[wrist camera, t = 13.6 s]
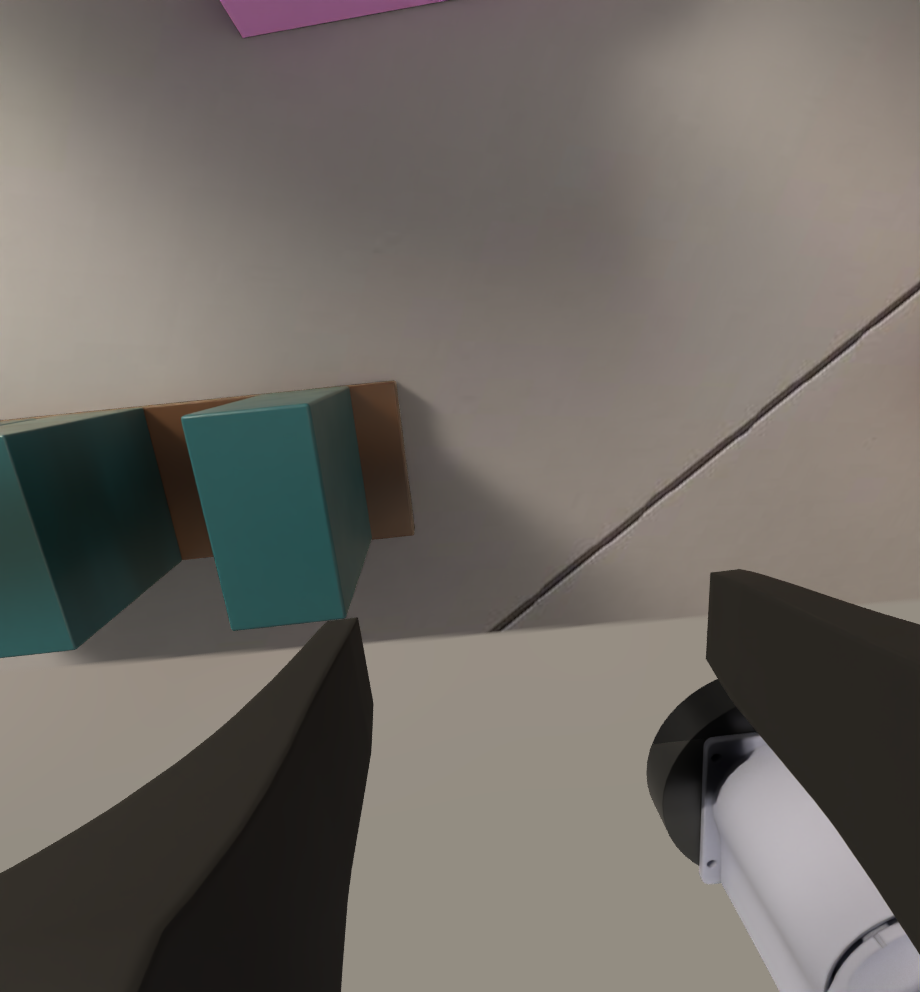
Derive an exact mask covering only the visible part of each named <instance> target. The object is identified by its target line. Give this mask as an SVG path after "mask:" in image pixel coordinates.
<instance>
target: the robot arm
mask: <svg viewBox="0 0 920 992" xmlns="http://www.w3.org/2000/svg"><path fill="white" fill-rule="evenodd" d="M706 659H707V661H708V663H709V664H710V666H711V668H712V670H713V671H714V673H715V675H716V676H717V678H718V680H719V681H720V683H721V685H722V686H723V688H724V689H725V691H726V692H727V694H728V695H729V697H730V698H731V700H732V701H733V703H734V704H735V705H736V707H737V708H738V709H739V710H740V712H741V713H742V714H743V715H744V717H745V718H746V719H747V720H748V721H749V723H750V724H751V725H752V726H753V728H754V729H755V730H756V731H757V732H749V733H740V734H732V735H723V736H715V737H710V738H708V739H707V740H706V741H705V743H704V747H703V775H702V803H701V832H700V860H699V875H700V877H701V879H702V881H703V882H704V883H706V884H717V883H722V885H723V887H724V888H725V891H726V893H727V894H728V896H729V898H730V900H731V902H732V904H733V906H734V907H735V909H736V911H737V913H738V915H739V917H740V919H741V921H742V922H743V924H744V926H745V928H746V930H747V932H748V934H749V935H750V937H751V939H752V941H753V943H754V945H755V946H756V948H757V950H758V952H759V954H760V956H761V958H762V960H763V962H764V963H765V965H766V967H767V969H768V971H769V973H770V975H771V976H772V978H773V980H774V982H775V983H776V986H777V988H778V989H779V991H780V992H920V625H919V624H916V623H913V622H909V621H906V620H902V619H899V618H896V617H892V616H889V615H885V614H882V613H878V612H875V611H872V610H869V609H866V608H863V607H860V606H857V605H854V604H851V603H848V602H845V601H842V600H839V599H836V598H833V597H830V596H827V595H824V594H821V593H818V592H815V591H812V590H809V589H806V588H803V587H800V586H797V585H794V584H791V583H788V582H785V581H782V580H778V579H775V578H772V577H769V576H765V575H762V574H758V573H755V572H751V571H746V570H741V569H737V570H729V571H721V572H713V573H710V592H709V611H708V631H707V651H706ZM372 726H373V699H372V693H371V688H370V682H369V676H368V671H367V666H366V660H365V654H364V648H363V643H362V637H361V632H360V626H359V620H358V618H350V619H342V620H334V621H327V622H326V623H325V624H324V625H323V626H322V627H321V628H320V629H319V630H318V631H317V633H316V634H315V635H314V636H313V637H312V638H311V639H310V640H309V641H308V642H307V643H306V645H305V646H304V647H303V648H302V649H301V650H300V651H299V652H298V653H297V654H296V656H294V658H293V659H292V660H291V661H290V662H289V663H288V664H287V665H286V666H285V667H284V668H283V669H282V670H281V671H280V672H279V673H278V675H276V677H274V678H273V680H272V681H270V683H268V684H267V685H266V686H265V687H264V688H263V689H262V690H261V691H260V692H259V693H258V694H257V695H256V696H255V697H254V698H253V699H252V700H251V701H249V702H248V703H247V704H246V705H245V706H244V707H243V708H242V709H241V710H240V711H239V712H238V713H237V714H236V715H235V716H234V717H232V718H231V719H230V720H229V721H228V722H227V723H226V724H224V725H223V726H222V727H221V728H220V729H219V730H217V731H216V732H215V733H214V734H213V735H211V736H210V737H209V738H208V739H206V740H205V741H204V742H203V743H201V744H200V745H199V746H198V747H196V748H195V749H194V750H192V751H191V752H190V753H189V754H188V755H186V756H185V757H184V758H182V759H181V760H180V761H178V762H177V763H176V764H174V765H173V766H171V767H170V768H169V769H167V770H166V771H164V772H163V773H162V774H160V775H158V776H157V777H156V778H154V779H153V780H151V781H150V782H149V783H147V784H146V785H144V786H143V787H141V788H140V789H138V790H137V791H136V792H134V793H133V794H131V795H130V796H128V797H127V798H125V799H124V800H123V801H121V802H120V803H118V804H117V805H115V806H114V807H112V808H110V809H109V810H108V811H106V812H104V813H103V814H101V815H99V816H98V817H96V818H95V819H93V820H91V821H90V822H88V823H87V824H85V825H83V826H82V827H80V828H79V829H77V830H75V831H74V832H72V833H70V834H68V835H67V836H65V837H63V838H62V839H60V840H59V841H57V842H55V843H53V844H51V845H50V846H48V847H46V848H45V849H43V850H41V851H40V852H38V853H37V854H34V855H33V856H31V857H29V858H28V859H26V860H24V861H22V862H20V863H18V864H17V865H15V866H13V867H11V868H9V869H8V870H6V871H4V872H2V873H0V992H341V981H342V966H343V953H344V941H345V928H346V915H347V902H348V893H349V885H350V878H351V869H352V864H353V858H354V852H355V846H356V840H357V834H358V828H359V822H360V817H361V810H362V805H363V799H364V792H365V786H366V781H367V774H368V769H369V762H370V756H371V746H372ZM714 754H716V755H715V756H713V755H714Z"/></svg>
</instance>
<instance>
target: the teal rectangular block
mask: <svg viewBox="0 0 920 992" xmlns="http://www.w3.org/2000/svg"><path fill="white" fill-rule="evenodd" d="M181 422H182V426H183V430H184V435H185V439H186V443H187V447H188V451H189V455H190V460H191V464H192V468H193V472H194V476H195V480H196V485H197V489H198V493H199V497H200V501H201V505H202V509H203V514H204V518H205V522H206V526H207V530H208V534H209V539H210V543H211V547H212V551H213V555H214V559H215V563H216V568H217V572H218V576H219V580H220V584H221V588H222V593H223V597H224V601H225V605H226V609H227V613H228V618H229V622H230V626H231V629H232V630H233V631H238V630H247V629H256V628H265V627H274V626H283V625H292V624H302V623H311V622H320V621H329V620H338V619H344V618H346V616H347V613H348V610H349V606H350V603H351V600H352V597H353V594H354V591H355V588H356V585H357V582H358V579H359V576H360V573H361V570H362V567H363V564H364V561H365V558H366V555H367V552H368V549H369V546H370V543H371V540H372V535H371V528H370V522H369V515H368V509H367V502H366V495H365V489H364V482H363V476H362V469H361V462H360V456H359V449H358V442H357V436H356V429H355V423H354V416H353V409H352V403H351V396H350V390H349V387H348V386H340V387H330V388H321V389H311V390H301V391H291V392H281V393H271V394H262V395H259V396H255V397H251V398H247V399H243V400H240V401H236V402H232V403H228V404H225V405H221V406H217V407H213V408H210V409H206V410H202V411H198V412H194V413H191V414H187V415H184V416H182V417H181Z"/></svg>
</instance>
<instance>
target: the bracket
mask: <svg viewBox="0 0 920 992" xmlns="http://www.w3.org/2000/svg"><path fill="white" fill-rule="evenodd" d="M441 1H447V0H220V2H221V3H222V5H223V7H224V8H225V10H226V11H227V13H228V15H229V16H230V18H231V20H232V21H233V23H234V24H235V26H236V28H237V29H238V31H239V33H240V34H241V36H242V37H243V38H245V37H251V36H256V35H261V34H267V33H272V32H278V31H283V30H289V29H294V28H300V27H305V26H310V25H316V24H321V23H327V22H332V21H338V20H343V19H349V18H354V17H359V16H365V15H370V14H376V13H381V12H387V11H392V10H398V9H403V8H408V7H414V6H419V5H425V4H430V3H436V2H441Z"/></svg>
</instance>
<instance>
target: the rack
mask: <svg viewBox="0 0 920 992" xmlns="http://www.w3.org/2000/svg"><path fill="white" fill-rule="evenodd" d="M345 386H348V387H349V390H350V396H351V403H352V409H353V416H354V423H355V429H356V436H357V442H358V449H359V456H360V462H361V469H362V476H363V482H364V489H365V495H366V502H367V509H368V515H369V522H370V528H371V535H372V540H374V539H383V538H392V537H402V536H411V535H414V530H415V526H414V518H413V510H412V502H411V494H410V487H409V479H408V471H407V463H406V455H405V447H404V439H403V431H402V424H401V416H400V408H399V400H398V392H397V384H396V381H384V382H375V383H365V384H355V385H345ZM335 387H340V386H335ZM325 388H330V387H325ZM315 389H321V388H315ZM306 390H311V389H306ZM296 391H301V390H296ZM286 392H291V391H286ZM276 393H281V392H276ZM266 394H271V393H266ZM259 395H262V394H256V395H246V396H237V397H227V398H217V399H207V400H197V401H187V402H177V403H167V404H158V405H148V406H138V407H128V408H118V409H108V410H98V411H89V412H79V413H69V414H59V415H49V416H39V417H29V418H20V419H10V420H0V658H5V657H14V656H23V655H32V654H42V653H51V652H60V651H69V650H75V649H77V648H78V647H79V646H81V645H82V644H83V643H84V642H85V641H87V640H88V639H89V638H90V637H91V636H93V635H94V634H95V633H96V632H97V631H98V630H100V629H101V628H102V627H103V626H104V625H106V624H107V623H108V622H109V621H110V620H112V619H113V618H114V617H115V616H116V615H118V614H119V613H120V612H121V611H122V610H124V609H125V608H126V607H127V606H128V605H130V604H131V603H132V602H133V601H134V600H135V599H137V598H138V597H139V596H140V595H141V594H143V593H144V592H145V591H146V590H147V589H149V588H150V587H151V586H152V585H153V584H155V583H156V582H157V581H158V580H159V579H161V578H162V577H163V576H164V575H165V574H166V573H168V572H169V571H170V570H171V569H172V568H174V567H175V566H176V565H177V564H178V563H180V562H181V561H182V560H187V559H196V558H206V557H214V555H213V551H212V547H211V543H210V539H209V534H208V530H207V526H206V522H205V518H204V514H203V509H202V505H201V501H200V497H199V493H198V489H197V485H196V480H195V476H194V472H193V468H192V464H191V460H190V455H189V451H188V447H187V443H186V439H185V435H184V430H183V426H182V422H181V417H182V416H184V415H187V414H191V413H194V412H198V411H202V410H206V409H210V408H213V407H217V406H221V405H225V404H228V403H232V402H236V401H240V400H243V399H247V398H251V397H255V396H259Z"/></svg>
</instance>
